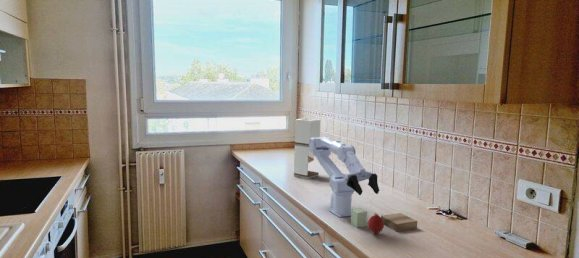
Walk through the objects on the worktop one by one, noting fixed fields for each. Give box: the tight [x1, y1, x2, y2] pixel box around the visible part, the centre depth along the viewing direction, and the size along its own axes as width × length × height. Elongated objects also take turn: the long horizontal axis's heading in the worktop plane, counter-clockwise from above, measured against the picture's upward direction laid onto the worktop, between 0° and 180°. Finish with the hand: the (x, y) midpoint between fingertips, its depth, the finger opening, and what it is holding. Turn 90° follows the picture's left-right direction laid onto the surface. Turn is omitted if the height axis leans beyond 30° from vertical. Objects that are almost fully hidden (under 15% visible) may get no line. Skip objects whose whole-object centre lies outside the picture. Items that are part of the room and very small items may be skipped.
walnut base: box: [380, 212, 418, 233], centre depth 151 cm, size 10×10×3 cm
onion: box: [367, 212, 385, 235], centre depth 142 cm, size 6×6×8 cm
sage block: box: [350, 208, 368, 228], centre depth 151 cm, size 4×4×6 cm
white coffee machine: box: [293, 117, 322, 180], centre depth 230 cm, size 11×11×35 cm
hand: (369, 192), depth 144 cm, fingers open, 7 cm apart
